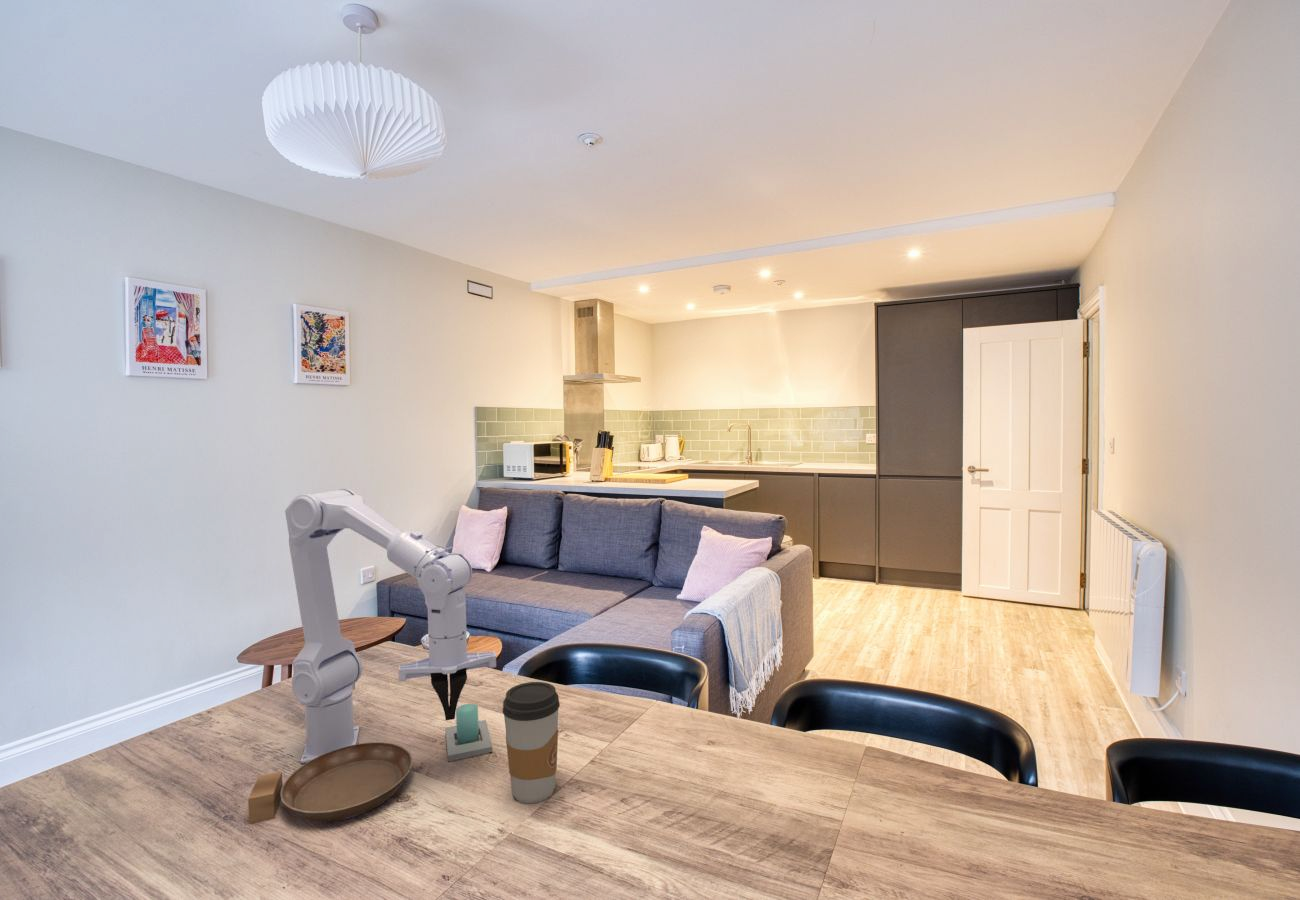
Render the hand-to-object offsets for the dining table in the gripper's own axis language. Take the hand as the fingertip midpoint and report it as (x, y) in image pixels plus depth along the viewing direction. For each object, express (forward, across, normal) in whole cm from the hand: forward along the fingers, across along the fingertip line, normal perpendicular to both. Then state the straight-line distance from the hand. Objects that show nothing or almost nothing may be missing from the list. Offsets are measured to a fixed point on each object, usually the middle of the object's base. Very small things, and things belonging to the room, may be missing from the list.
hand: (449, 717), depth 96 cm
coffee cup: (+8, +11, -11) cm, 18 cm away
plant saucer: (+9, -15, 0) cm, 17 cm away
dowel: (+8, +3, +7) cm, 12 cm away
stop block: (+9, -25, 0) cm, 27 cm away
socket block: (+8, +3, +7) cm, 12 cm away
